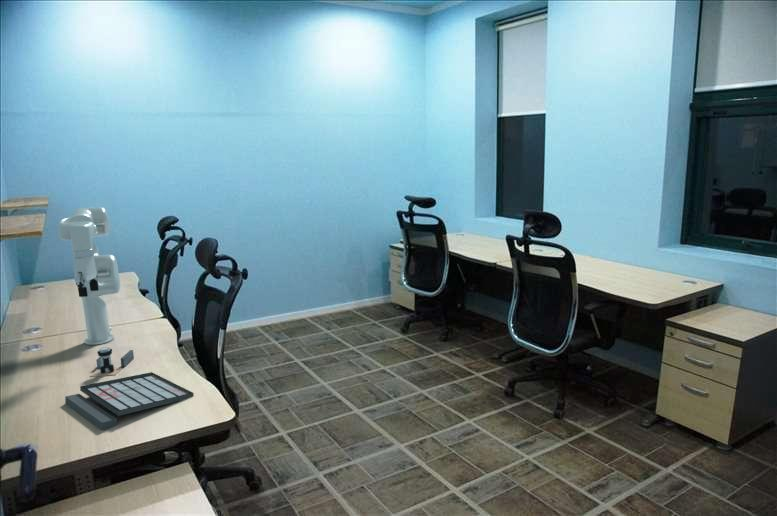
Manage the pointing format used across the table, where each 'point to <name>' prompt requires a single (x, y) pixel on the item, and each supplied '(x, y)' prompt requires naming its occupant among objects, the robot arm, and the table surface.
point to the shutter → (124, 397)
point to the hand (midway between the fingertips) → (89, 293)
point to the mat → (105, 373)
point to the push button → (105, 360)
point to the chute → (124, 360)
